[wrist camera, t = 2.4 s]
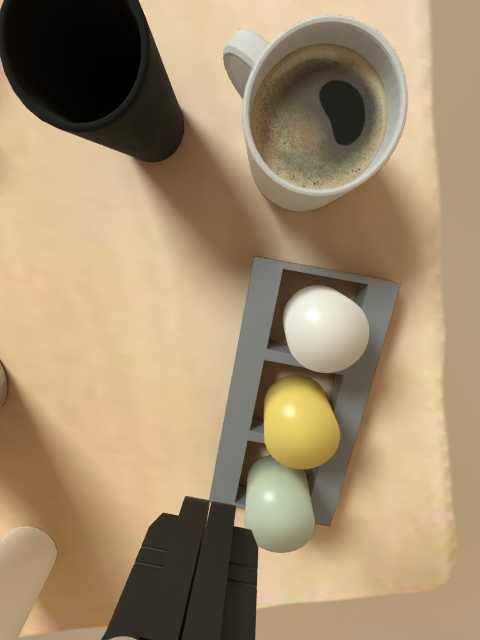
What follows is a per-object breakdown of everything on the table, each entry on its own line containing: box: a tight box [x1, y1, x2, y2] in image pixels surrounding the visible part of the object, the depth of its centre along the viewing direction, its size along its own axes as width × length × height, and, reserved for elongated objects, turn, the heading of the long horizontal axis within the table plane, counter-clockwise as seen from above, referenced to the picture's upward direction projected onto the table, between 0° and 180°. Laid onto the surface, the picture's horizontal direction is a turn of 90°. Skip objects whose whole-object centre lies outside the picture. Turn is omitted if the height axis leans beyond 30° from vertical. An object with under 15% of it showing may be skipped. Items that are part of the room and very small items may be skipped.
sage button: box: [244, 455, 315, 553], centre depth 30 cm, size 6×6×5 cm
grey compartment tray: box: [209, 256, 401, 527], centre depth 31 cm, size 24×12×2 cm, turn 170°
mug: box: [223, 15, 408, 211], centre depth 23 cm, size 11×10×10 cm
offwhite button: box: [283, 285, 369, 373], centre depth 26 cm, size 6×6×5 cm
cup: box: [0, 0, 184, 162], centre depth 22 cm, size 8×8×12 cm
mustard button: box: [264, 375, 340, 469], centre depth 28 cm, size 6×6×5 cm
